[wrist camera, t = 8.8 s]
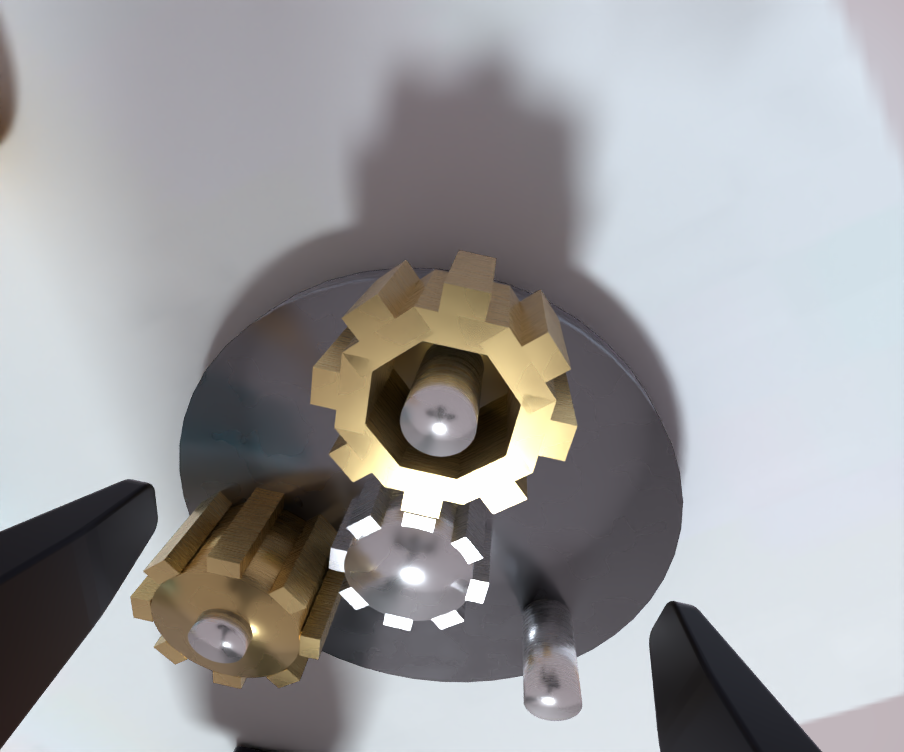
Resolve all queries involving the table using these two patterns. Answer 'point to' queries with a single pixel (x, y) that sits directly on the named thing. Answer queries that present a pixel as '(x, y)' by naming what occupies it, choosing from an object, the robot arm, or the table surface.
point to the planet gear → (463, 327)
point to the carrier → (406, 521)
